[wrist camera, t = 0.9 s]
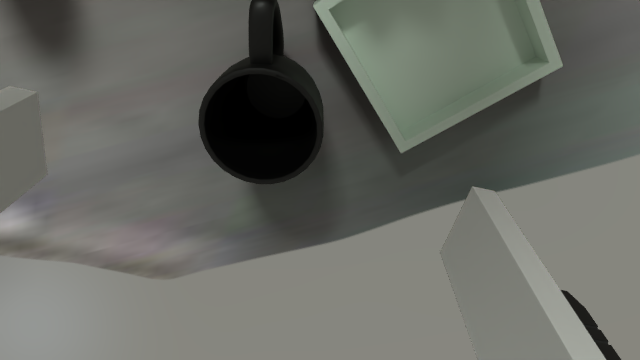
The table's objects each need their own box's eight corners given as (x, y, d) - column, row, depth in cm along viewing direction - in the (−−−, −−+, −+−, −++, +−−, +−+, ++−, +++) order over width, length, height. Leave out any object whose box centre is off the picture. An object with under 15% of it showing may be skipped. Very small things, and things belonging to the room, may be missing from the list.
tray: (314, 1, 32) (312, 5, 29) (480, -114, 28) (496, -121, 26) (395, 139, 37) (401, 153, 35) (544, 57, 34) (563, 66, 31)
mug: (334, -6, 32) (337, 7, 23) (319, 138, 37) (317, 190, 29) (227, -18, 31) (191, -8, 23) (228, 129, 37) (200, 179, 29)
